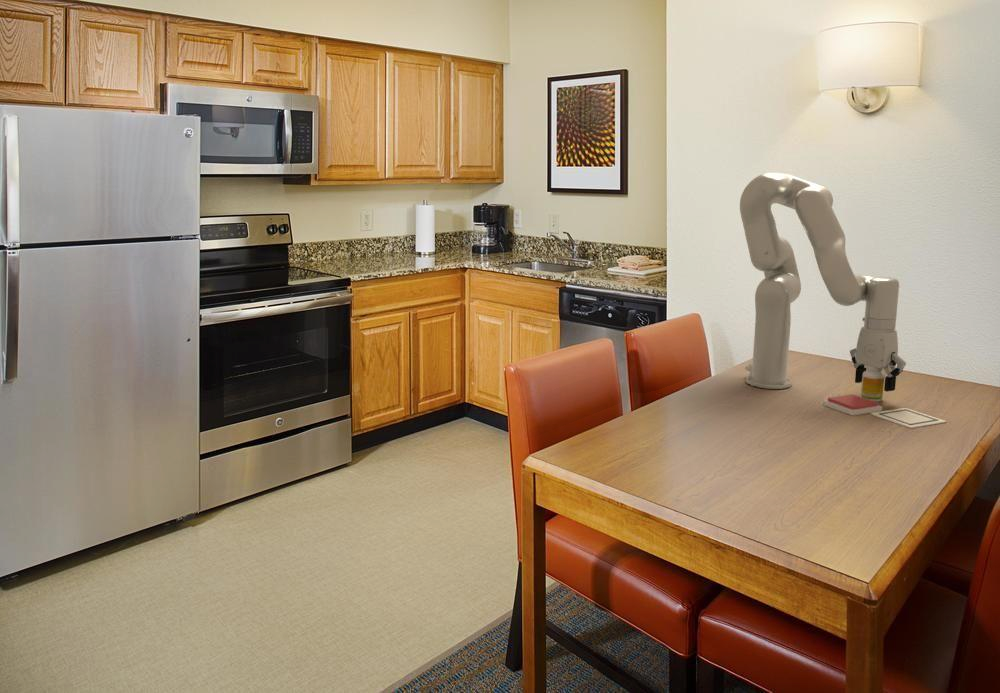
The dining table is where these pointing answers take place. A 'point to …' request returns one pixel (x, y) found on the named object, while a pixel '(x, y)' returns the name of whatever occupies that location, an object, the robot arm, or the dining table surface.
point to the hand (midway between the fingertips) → (874, 386)
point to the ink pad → (852, 405)
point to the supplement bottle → (872, 384)
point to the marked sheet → (908, 418)
